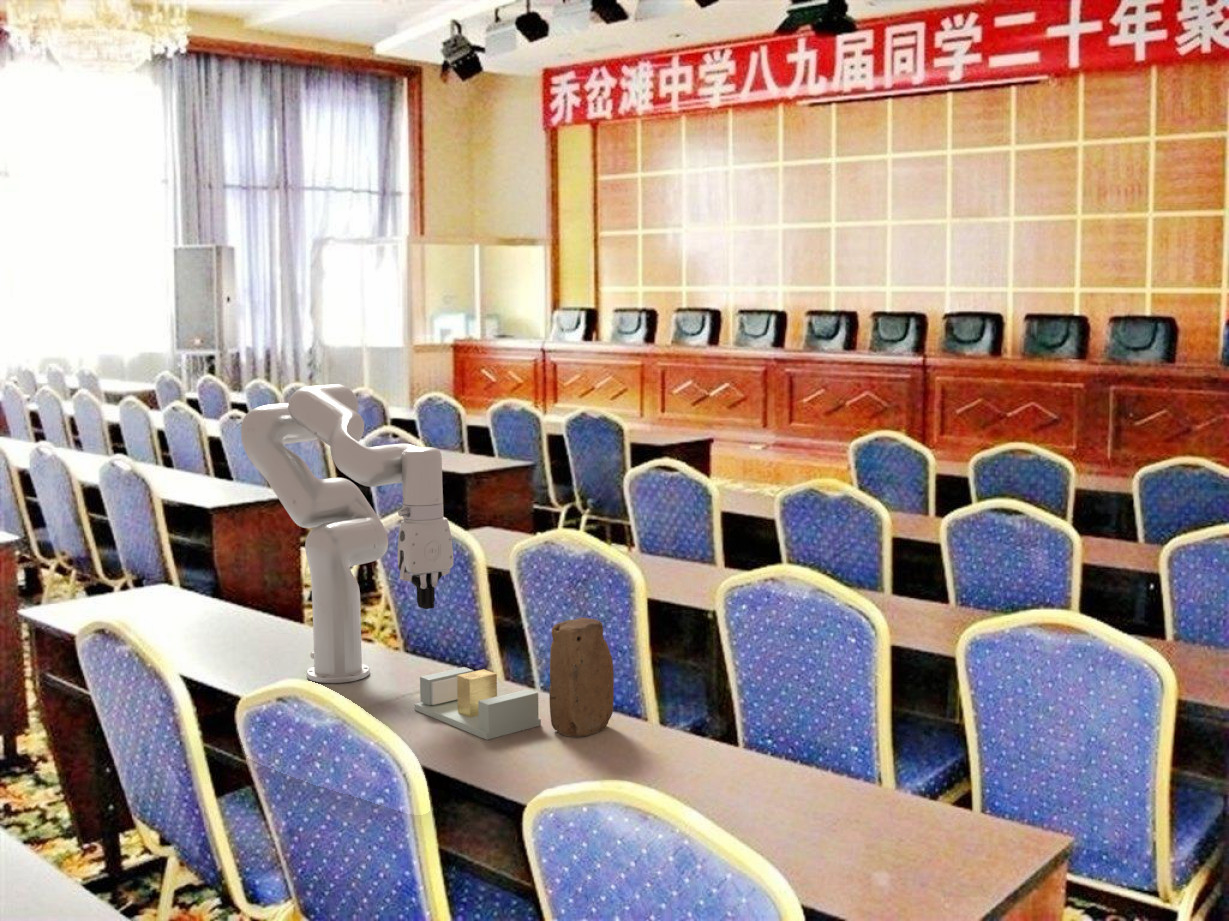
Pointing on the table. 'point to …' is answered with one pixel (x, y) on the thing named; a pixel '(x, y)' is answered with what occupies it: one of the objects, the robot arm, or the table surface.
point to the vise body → (490, 714)
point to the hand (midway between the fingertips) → (426, 607)
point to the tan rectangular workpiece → (475, 690)
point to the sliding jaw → (440, 686)
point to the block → (580, 678)
